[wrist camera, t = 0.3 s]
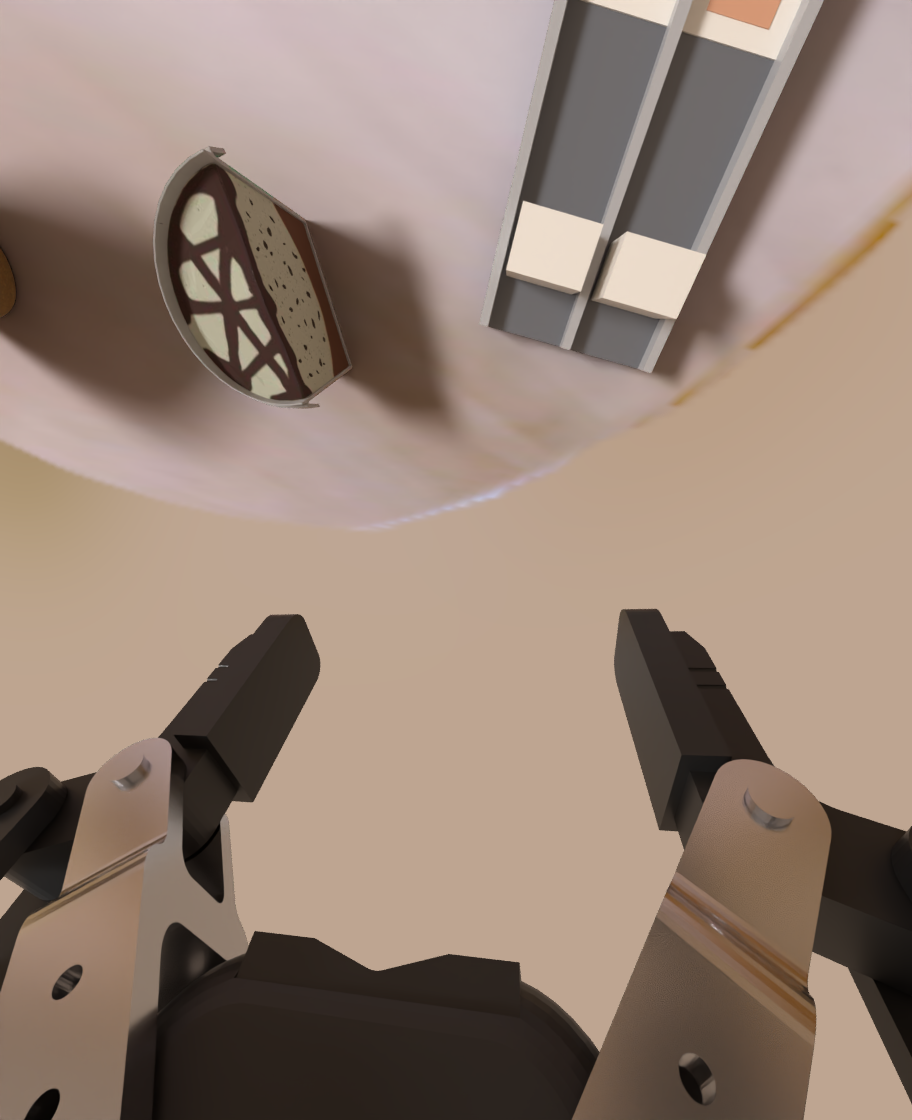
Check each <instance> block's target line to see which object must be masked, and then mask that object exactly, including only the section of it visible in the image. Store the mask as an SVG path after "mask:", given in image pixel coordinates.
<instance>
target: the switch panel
mask: <svg viewBox="0 0 912 1120" xmlns="http://www.w3.org/2000/svg"><path fill="white" fill-rule="evenodd" d="M823 1H824V0H554V4H553V8H552V13H551V17H550V21H549V26H548V30H547V34H546V39H545V43H544V47H543V51H542V56H541V60H540V64H539V69H538V73H537V77H536V81H535V86H534V90H533V94H532V99H531V103H530V107H529V112H528V116H527V120H526V124H525V129H524V133H523V137H522V142H521V146H520V150H519V155H518V159H517V163H516V167H515V172H514V176H513V180H512V185H511V189H510V193H509V197H508V202H507V206H506V210H505V215H504V219H503V223H502V228H501V232H500V236H499V240H498V245H497V249H496V253H495V258H494V262H493V266H492V270H491V275H490V279H489V283H488V288H487V292H486V296H485V301H484V305H483V309H482V313H481V318H480V322H479V325H483V326H486V327H492V328H495V329H499V330H503V331H506V332H510V333H513V334H517V335H520V336H524V337H527V338H531V339H534V340H538V341H541V342H545V343H548V344H552V345H555V346H559V347H561V348H564V349H567V350H573V351H576V352H580V353H584V354H587V355H591V356H594V357H598V358H601V359H605V360H608V361H612V362H615V363H619V364H622V365H626V366H629V367H633V368H636V369H639V370H642V371H645V372H648V373H651V372H652V370H653V368H654V366H655V364H656V362H657V359H658V357H659V355H660V353H661V351H662V349H663V346H664V344H665V342H666V340H667V338H668V336H669V334H670V331H671V329H672V327H673V325H674V323H675V321H676V319H654V318H651V317H648V316H644V315H641V314H637V313H634V312H630V311H627V310H623V309H620V308H616V307H613V306H609V305H606V304H602V303H599V302H595V301H592V300H591V297H592V295H593V292H594V289H595V286H596V283H597V280H598V278H599V275H600V272H601V269H602V266H603V264H604V261H605V258H606V255H607V252H608V249H609V247H610V244H611V243H612V242H613V241H614V240H616V239H617V238H619V237H620V236H621V235H623V234H624V233H626V232H627V231H628V232H631V233H634V234H638V235H641V236H645V237H648V238H651V239H655V240H658V241H662V242H665V243H668V244H672V245H675V246H679V247H682V248H685V249H689V250H692V251H696V252H699V253H702V254H707V252H708V249H709V247H710V245H711V243H712V241H713V239H714V236H715V234H716V232H717V230H718V228H719V226H720V223H721V221H722V219H723V217H724V215H725V213H726V211H727V208H728V206H729V204H730V202H731V200H732V198H733V195H734V193H735V191H736V189H737V187H738V185H739V182H740V180H741V178H742V176H743V174H744V172H745V170H746V167H747V165H748V163H749V161H750V159H751V157H752V154H753V152H754V150H755V148H756V146H757V144H758V141H759V139H760V137H761V135H762V133H763V131H764V129H765V126H766V124H767V122H768V120H769V118H770V116H771V113H772V111H773V109H774V107H775V105H776V103H777V100H778V98H779V96H780V94H781V92H782V90H783V88H784V85H785V83H786V81H787V79H788V77H789V75H790V72H791V70H792V68H793V66H794V64H795V62H796V59H797V57H798V55H799V53H800V51H801V49H802V47H803V44H804V42H805V40H806V38H807V36H808V34H809V31H810V29H811V27H812V25H813V23H814V21H815V18H816V16H817V14H818V12H819V10H820V8H821V6H822V3H823ZM523 201H526V202H529V203H533V204H536V205H539V206H543V207H546V208H550V209H553V210H556V211H560V212H563V213H567V214H570V215H573V216H577V217H580V218H584V219H587V220H590V221H594V222H597V223H600V224H604V225H603V228H602V231H601V234H600V237H599V240H598V243H597V246H596V248H595V251H594V254H593V257H592V260H591V263H590V266H589V269H588V272H587V275H586V278H585V281H584V284H583V287H582V290H581V292H578V293H575V294H572V295H571V294H568V293H564V292H561V291H557V290H554V289H550V288H547V287H543V286H540V285H536V284H533V283H530V282H526V281H523V280H519V279H516V278H512V277H509V276H506V268H507V264H508V260H509V256H510V252H511V248H512V244H513V240H514V236H515V232H516V228H517V224H518V220H519V216H520V212H521V208H522V204H523Z"/></svg>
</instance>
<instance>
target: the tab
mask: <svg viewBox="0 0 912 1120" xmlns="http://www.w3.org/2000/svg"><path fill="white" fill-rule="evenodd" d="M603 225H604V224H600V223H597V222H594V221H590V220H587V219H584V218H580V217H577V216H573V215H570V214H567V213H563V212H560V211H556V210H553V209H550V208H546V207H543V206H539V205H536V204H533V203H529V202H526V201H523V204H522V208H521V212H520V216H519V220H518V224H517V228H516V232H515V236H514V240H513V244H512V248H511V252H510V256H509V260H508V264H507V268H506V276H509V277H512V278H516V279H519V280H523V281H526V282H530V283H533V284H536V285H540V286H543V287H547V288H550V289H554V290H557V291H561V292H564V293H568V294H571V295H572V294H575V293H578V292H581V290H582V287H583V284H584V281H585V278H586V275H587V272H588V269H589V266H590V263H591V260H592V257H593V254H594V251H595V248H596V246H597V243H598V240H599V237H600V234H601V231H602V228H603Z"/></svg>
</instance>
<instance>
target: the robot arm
mask: <svg viewBox="0 0 912 1120" xmlns="http://www.w3.org/2000/svg"><path fill="white" fill-rule="evenodd" d="M614 667H615V676H616V682H617V686H618V689H619V693H620V696H621V700H622V703H623V706H624V710H625V713H626V717H627V720H628V724H629V727H630V730H631V734H632V737H633V741H634V744H635V748H636V751H637V755H638V758H639V761H640V765H641V769H642V772H643V775H644V779H645V782H646V786H647V789H648V793H649V796H650V800H651V803H652V807H653V810H654V813H655V817H656V820H657V823H658V827H659V830H665V831H678V832H679V835H680V838H681V841H682V844H683V847H684V852H683V855H682V857H681V859H680V862H679V864H678V867H677V869H676V872H675V874H674V876H673V879H672V881H671V883H670V886H669V887H668V889H667V892H666V894H665V896H664V899H663V901H662V903H661V906H660V908H659V910H658V913H657V915H656V918H655V920H654V923H653V925H652V927H651V930H650V932H649V935H648V937H647V940H646V942H645V944H644V947H643V949H642V951H641V954H640V956H639V959H638V961H637V963H636V966H635V968H634V971H633V974H632V976H631V978H630V980H629V983H628V986H627V988H626V990H625V992H624V995H623V997H622V1000H621V1002H620V1005H619V1007H618V1009H617V1012H616V1014H615V1017H614V1019H613V1021H612V1024H611V1026H610V1029H609V1031H608V1033H607V1036H606V1038H605V1041H604V1043H603V1045H602V1048H601V1050H600V1052H599V1051H598V1049H597V1048H596V1046H595V1045H594V1044H593V1042H592V1041H591V1039H590V1038H589V1037H588V1036H587V1035H586V1033H585V1032H584V1031H583V1030H582V1029H581V1028H580V1026H579V1025H578V1024H577V1023H576V1022H575V1021H574V1019H573V1018H571V1016H569V1015H568V1014H567V1013H566V1012H565V1011H564V1010H563V1009H562V1008H561V1007H560V1006H559V1005H558V1004H556V1003H555V1002H554V1001H553V1000H551V999H550V998H549V997H547V996H546V995H544V994H543V993H542V992H540V991H539V990H537V989H535V988H534V987H532V986H530V985H528V984H526V983H524V982H522V981H521V974H520V963H519V962H511V961H502V960H493V959H485V958H477V957H468V956H460V955H452V954H448V955H444V956H439V957H436V958H431V959H427V960H424V961H419V962H415V963H411V964H407V965H402V966H399V967H394V968H390V969H386V970H382V971H374V970H370V969H368V968H366V967H364V966H363V965H361V964H359V963H357V962H356V961H354V960H352V959H350V958H348V957H347V956H345V955H343V954H342V953H340V952H338V951H336V950H334V949H332V948H331V947H329V946H327V945H325V944H324V943H322V942H320V941H319V940H317V939H315V938H308V937H300V936H291V935H283V934H274V933H266V932H257V931H255V932H254V935H253V937H252V940H251V942H250V944H249V946H248V942H247V938H246V935H245V932H244V930H243V927H242V925H241V922H240V920H239V917H238V914H237V910H236V905H235V894H234V881H233V869H232V855H231V842H230V830H229V821H228V817H227V816H226V814H225V812H226V811H227V809H228V807H229V805H230V803H231V802H232V801H241V802H253V801H254V799H255V798H256V795H257V794H258V792H259V790H260V788H261V786H262V784H263V782H264V780H265V778H266V776H267V775H268V773H269V771H270V769H271V767H272V765H273V763H274V761H275V759H276V757H277V756H278V754H279V752H280V750H281V748H282V746H283V744H284V742H285V740H286V738H287V737H288V735H289V733H290V731H291V729H292V727H293V725H294V723H295V721H296V719H297V717H298V715H299V714H300V712H301V710H302V708H303V706H304V704H305V702H306V700H307V698H308V696H309V695H310V693H311V691H312V689H313V687H314V685H315V683H316V681H317V679H318V676H319V672H320V658H319V654H318V652H317V650H316V647H315V645H314V642H313V640H312V637H311V635H310V632H309V629H308V627H307V625H306V622H305V620H304V618H303V617H302V616H301V615H298V614H295V615H294V614H293V615H270V616H268V617H267V618H266V619H265V620H264V621H263V623H262V624H261V625H260V626H259V628H258V629H257V630H256V631H255V633H254V634H251V635H249V636H248V637H247V638H245V639H244V640H243V641H241V642H240V643H239V644H237V645H236V646H235V647H233V648H232V649H231V650H230V652H229V653H228V654H227V655H226V656H225V658H224V659H223V660H222V661H221V662H220V664H219V667H218V668H215V670H214V671H213V672H212V673H211V675H210V676H209V677H208V680H207V682H204V683H203V684H202V686H201V687H200V688H199V689H198V690H197V691H196V693H195V694H194V695H193V696H192V698H191V699H190V700H189V701H188V702H187V704H186V705H185V706H184V707H183V708H182V710H181V711H180V712H179V713H178V714H177V716H176V717H175V718H174V719H173V721H172V722H171V723H170V724H169V725H168V727H167V728H166V729H165V730H164V731H163V733H162V734H161V735H160V736H159V737H158V738H150V739H146V740H142V741H139V742H137V743H134V744H132V745H130V746H128V747H127V748H125V749H123V750H122V751H120V752H119V753H118V754H116V755H115V756H113V757H112V758H111V759H109V760H108V761H107V762H106V763H105V764H104V765H103V766H102V767H101V768H100V769H99V770H98V772H96V773H92V774H88V775H84V776H81V777H77V778H73V779H70V780H66V781H62V782H60V781H59V780H58V779H57V778H56V777H54V775H52V774H51V773H50V772H49V771H48V770H47V769H45V768H43V767H33V768H28V769H24V770H22V771H19V772H16V773H14V774H12V775H10V776H8V777H6V778H4V779H2V780H1V781H0V880H1V879H2V878H3V877H6V878H8V879H9V880H11V881H12V882H14V883H16V884H17V885H19V886H20V887H22V888H23V889H24V890H23V891H22V893H21V894H20V895H19V896H18V898H17V899H16V900H15V902H14V903H13V904H12V905H11V906H10V908H9V909H8V910H7V912H6V913H5V914H4V915H3V916H2V918H1V919H0V1120H803V1118H804V1112H805V1104H806V1098H807V1091H808V1085H809V1077H810V1071H811V1064H812V1056H813V1050H814V1043H815V1035H816V1007H815V1002H814V999H813V998H812V997H811V995H809V992H808V973H809V966H810V960H811V954H812V952H814V953H817V954H819V955H821V956H823V957H826V958H828V959H830V960H832V961H835V962H837V963H839V964H841V965H843V966H846V967H848V969H849V971H850V973H851V975H852V977H853V979H854V982H855V984H856V986H857V988H858V990H859V992H860V994H861V996H862V998H863V1000H864V1002H865V1005H866V1007H867V1009H868V1011H869V1013H870V1015H871V1018H872V1020H873V1022H874V1024H875V1026H876V1028H877V1030H878V1033H879V1035H880V1037H881V1039H882V1041H883V1043H884V1046H885V1047H886V1050H887V1052H888V1054H889V1056H890V1058H891V1060H892V1063H893V1064H894V1067H895V1069H896V1071H897V1073H898V1075H899V1077H900V1080H901V1082H902V1084H903V1086H904V1088H905V1090H906V1092H907V1094H908V1096H909V1099H910V1101H911V1103H912V826H911V827H910V829H909V830H908V831H907V832H906V831H903V830H900V829H897V828H894V827H890V826H888V825H884V824H881V823H878V822H875V821H872V820H869V819H866V818H862V817H859V816H856V815H853V814H850V813H847V812H844V811H840V810H838V809H835V808H832V807H830V806H828V805H826V804H824V803H821V802H819V801H818V800H817V799H816V797H815V796H814V795H813V794H812V793H811V792H810V791H809V790H808V789H807V788H806V787H805V786H804V785H803V784H801V783H800V782H799V781H798V780H796V779H795V778H793V777H792V776H791V775H789V774H788V773H786V772H784V771H782V770H780V769H778V768H776V767H775V766H774V765H773V764H772V762H771V761H770V759H769V758H768V756H767V754H766V753H765V751H764V749H763V748H762V746H761V744H760V742H759V741H758V739H757V737H756V735H755V734H754V732H753V730H752V729H751V727H750V725H749V723H748V722H747V720H746V718H745V717H744V715H743V713H742V711H741V710H740V708H739V706H738V705H737V703H736V701H735V700H734V698H733V696H732V694H731V692H730V691H729V690H728V689H726V684H725V682H724V681H723V679H722V677H721V675H720V674H719V672H717V671H716V667H715V665H714V663H713V662H712V660H711V658H710V657H709V655H708V653H707V652H706V650H705V648H704V647H703V646H702V645H700V644H699V643H698V642H697V641H696V640H694V639H693V638H692V637H691V636H690V635H688V634H687V633H686V632H685V631H679V632H678V631H674V632H670V631H669V629H668V627H667V625H666V623H665V621H664V619H663V617H662V615H661V613H660V612H659V611H658V610H657V609H627V610H626V609H623V610H621V612H620V617H619V625H618V633H617V641H616V649H615V657H614Z"/></svg>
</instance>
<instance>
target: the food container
mask: <svg viewBox="0 0 912 1120" xmlns="http://www.w3.org/2000/svg"><path fill="white" fill-rule="evenodd" d="M224 154H226V152H225V150H224V149H223V148H216V147H210V146H209V147H207V148H205V149H202V150H200V151H198V152H197V153H195V154H193V155H192V156H190V157H188V158H187V159H186V160H185V161H184V162H183V163H182V164H181V165H180V166H179V167H178V168H177V169H176V170H175V171H174V173H173V174H172V176H171V177H170V179H169V180H168V182H167V183H166V185H165V187H164V190H163V192H162V195H161V197H160V199H159V202H158V207H157V211H156V215H155V220H154V233H153V250H154V262H155V268H156V273H157V278H158V283H159V286H160V289H161V293H162V296H163V299H164V302H165V304H166V307H167V309H168V311H169V314H170V316H171V318H172V320H173V322H174V324H175V326H176V327H177V329H178V331H179V333H180V335H181V336H182V338H183V339H184V341H185V342H186V344H187V345H188V346H189V348H190V349H191V351H192V352H193V353H194V355H195V356H196V357H197V358H198V359H199V360H200V361H201V363H202V364H203V365H204V366H205V367H206V368H207V369H208V370H209V371H210V372H211V373H213V374H214V375H215V376H216V377H217V378H218V379H219V380H221V381H222V382H223V383H225V384H226V385H228V386H229V387H230V388H232V389H233V390H235V391H237V392H239V393H241V394H243V395H245V396H246V397H249V398H251V399H253V400H256V401H258V402H261V403H264V404H266V405H271V406H276V407H280V408H314V407H320V406H319V404H309V401H310V400H311V399H313V398H314V397H315V396H316V395H318V394H319V393H320V392H322V391H323V390H324V389H326V388H327V387H328V386H330V385H331V384H332V383H334V382H335V381H336V380H337V379H339V378H340V377H341V376H343V375H344V374H345V373H347V372H348V371H349V370H351V369H352V364H351V361H350V358H349V355H348V352H347V349H346V345H345V342H344V339H343V336H342V333H341V330H340V327H339V323H338V320H337V317H336V314H335V311H334V308H333V304H332V301H331V298H330V295H329V292H328V289H327V286H326V282H325V279H324V276H323V273H322V270H321V267H320V263H319V260H318V257H317V254H316V251H315V248H314V245H313V241H312V238H311V235H310V232H309V229H308V226H307V222H306V220H305V219H304V218H302V217H301V216H300V215H298V214H297V213H295V212H294V211H292V210H291V209H290V208H288V207H287V206H285V205H284V204H283V203H281V202H280V201H278V200H277V199H275V198H274V197H273V196H271V195H270V194H268V193H267V192H266V191H264V190H263V189H261V188H260V187H258V186H257V185H256V184H254V183H253V182H251V181H250V180H249V179H247V178H246V177H244V176H243V175H241V174H240V173H239V172H237V171H236V170H234V169H233V168H232V167H230V166H229V165H227V164H226V163H224V162H223V161H222V160H220V159H219V158H218V157H220V156H222V155H224Z"/></svg>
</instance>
